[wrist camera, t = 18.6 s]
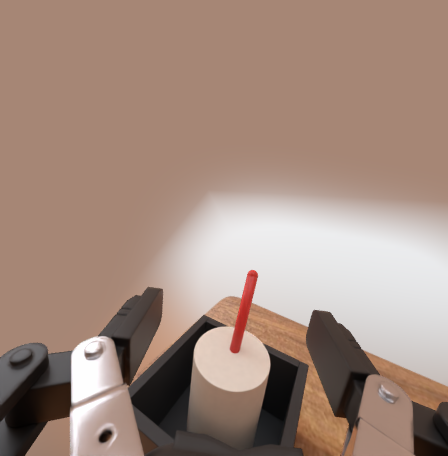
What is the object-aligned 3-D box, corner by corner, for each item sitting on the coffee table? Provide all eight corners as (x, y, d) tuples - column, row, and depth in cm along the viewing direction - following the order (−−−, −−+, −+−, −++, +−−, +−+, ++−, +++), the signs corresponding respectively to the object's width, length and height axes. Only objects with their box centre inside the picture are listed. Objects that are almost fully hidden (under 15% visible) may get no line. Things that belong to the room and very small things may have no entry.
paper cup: (170, 458, 18) (183, 285, 13) (207, 397, 23) (225, 256, 18) (234, 512, 15) (274, 323, 11) (259, 430, 20) (293, 278, 16)
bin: (113, 476, 17) (110, 403, 15) (198, 367, 27) (203, 314, 25) (249, 628, 12) (274, 550, 10) (291, 425, 22) (308, 364, 20)
